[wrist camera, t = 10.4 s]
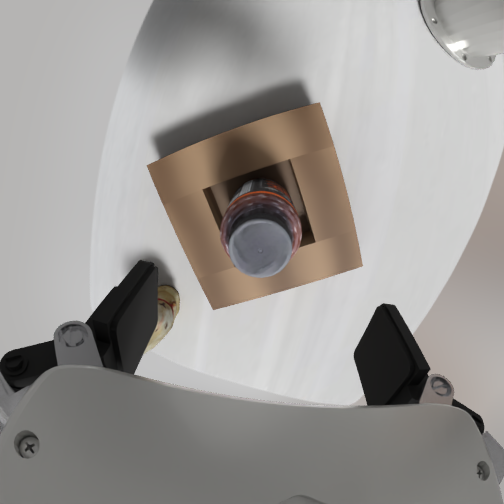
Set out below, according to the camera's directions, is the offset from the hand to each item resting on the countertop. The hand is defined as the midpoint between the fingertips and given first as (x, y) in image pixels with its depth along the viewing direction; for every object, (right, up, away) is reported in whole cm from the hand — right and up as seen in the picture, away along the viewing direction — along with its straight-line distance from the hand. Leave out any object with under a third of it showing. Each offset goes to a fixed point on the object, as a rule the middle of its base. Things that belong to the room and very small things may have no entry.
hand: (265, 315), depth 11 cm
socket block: (0, +7, +17) cm, 19 cm away
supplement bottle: (0, +7, +17) cm, 18 cm away
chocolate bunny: (-12, -4, +23) cm, 26 cm away
